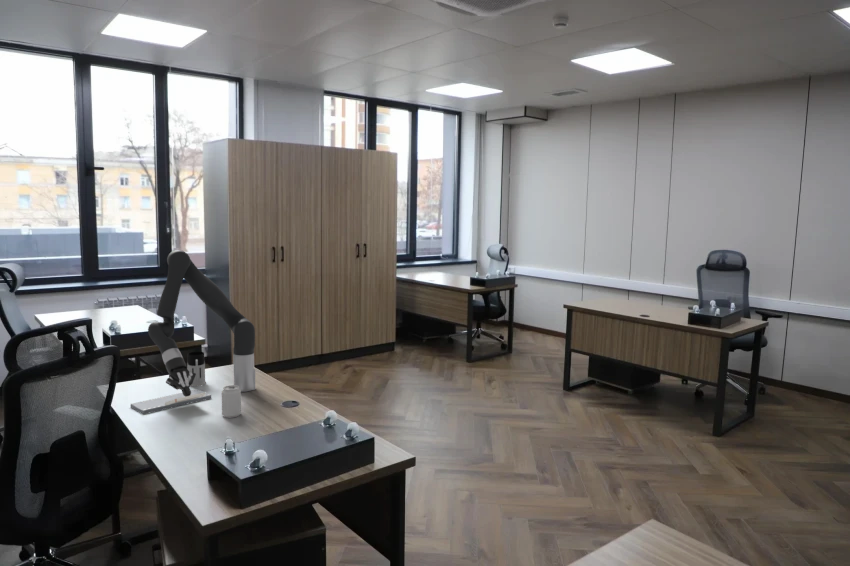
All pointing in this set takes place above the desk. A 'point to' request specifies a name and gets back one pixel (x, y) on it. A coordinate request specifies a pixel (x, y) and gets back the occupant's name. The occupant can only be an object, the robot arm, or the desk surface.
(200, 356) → the glass holder
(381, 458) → the desk surface
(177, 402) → the white square panel
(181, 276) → the robot arm
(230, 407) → the can
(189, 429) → the desk surface
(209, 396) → the board
